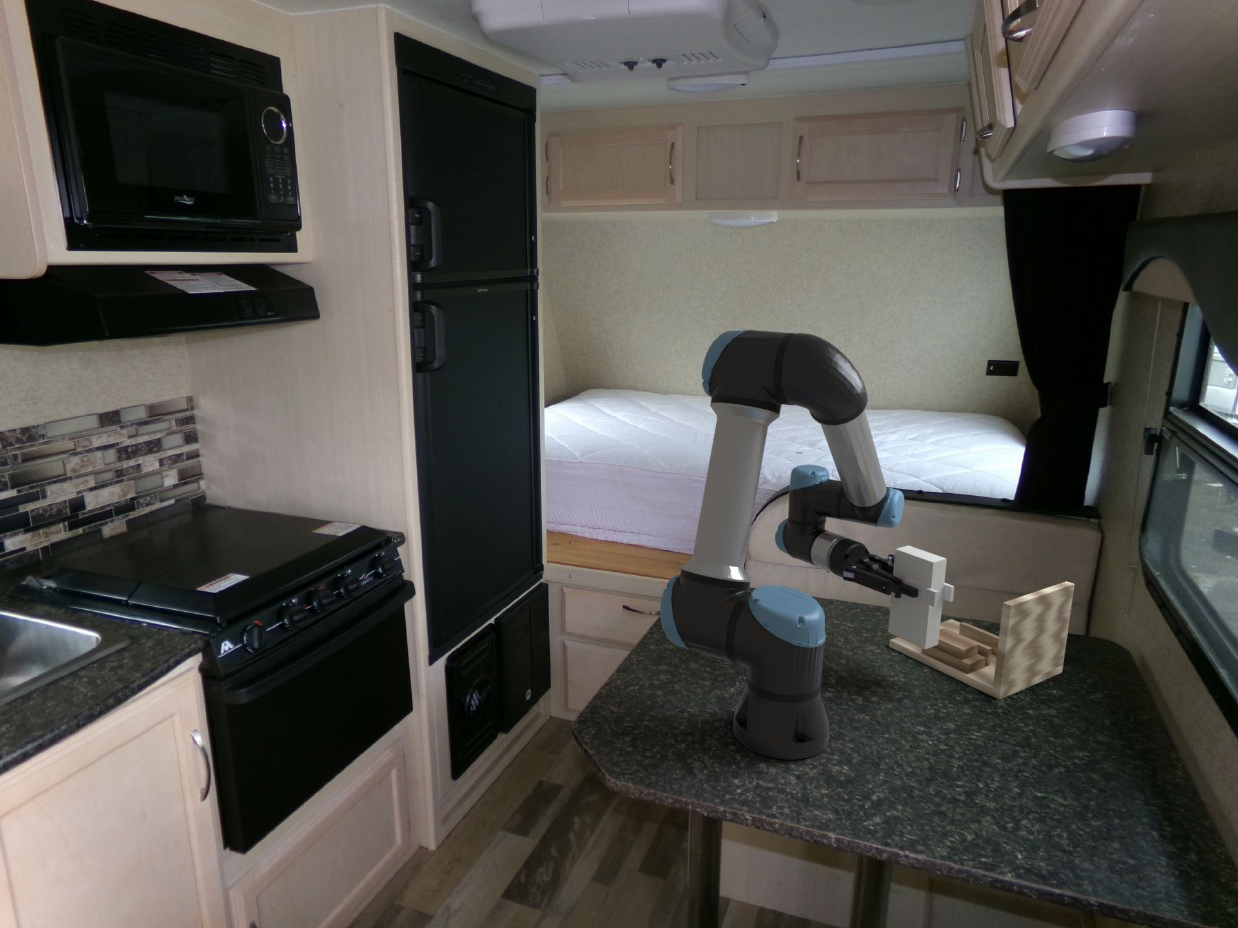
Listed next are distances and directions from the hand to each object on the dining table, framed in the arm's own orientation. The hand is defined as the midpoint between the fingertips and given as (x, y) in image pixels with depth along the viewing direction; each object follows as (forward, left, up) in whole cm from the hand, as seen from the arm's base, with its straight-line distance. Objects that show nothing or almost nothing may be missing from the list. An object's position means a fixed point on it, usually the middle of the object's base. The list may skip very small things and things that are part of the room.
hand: (944, 596), depth 140 cm
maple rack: (+18, -4, -18) cm, 26 cm away
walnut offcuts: (+13, -1, -17) cm, 21 cm away
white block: (+3, +5, -10) cm, 11 cm away
